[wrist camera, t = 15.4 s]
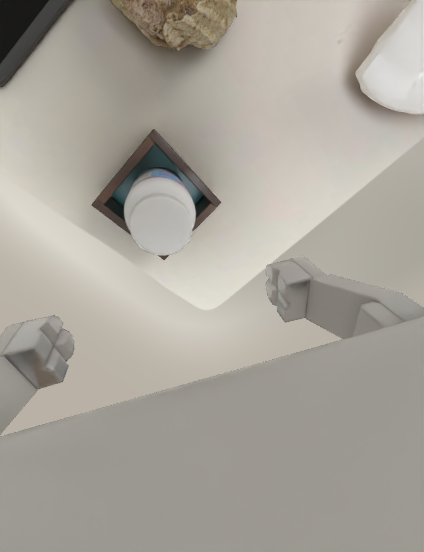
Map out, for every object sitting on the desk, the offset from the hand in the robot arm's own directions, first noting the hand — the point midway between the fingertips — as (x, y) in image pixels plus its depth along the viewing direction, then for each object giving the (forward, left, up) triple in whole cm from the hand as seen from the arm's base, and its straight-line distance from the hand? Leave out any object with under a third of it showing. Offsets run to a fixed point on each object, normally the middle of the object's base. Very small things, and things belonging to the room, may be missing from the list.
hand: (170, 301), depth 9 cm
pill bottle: (0, 0, -21) cm, 21 cm away
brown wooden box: (+1, 0, -22) cm, 22 cm away
